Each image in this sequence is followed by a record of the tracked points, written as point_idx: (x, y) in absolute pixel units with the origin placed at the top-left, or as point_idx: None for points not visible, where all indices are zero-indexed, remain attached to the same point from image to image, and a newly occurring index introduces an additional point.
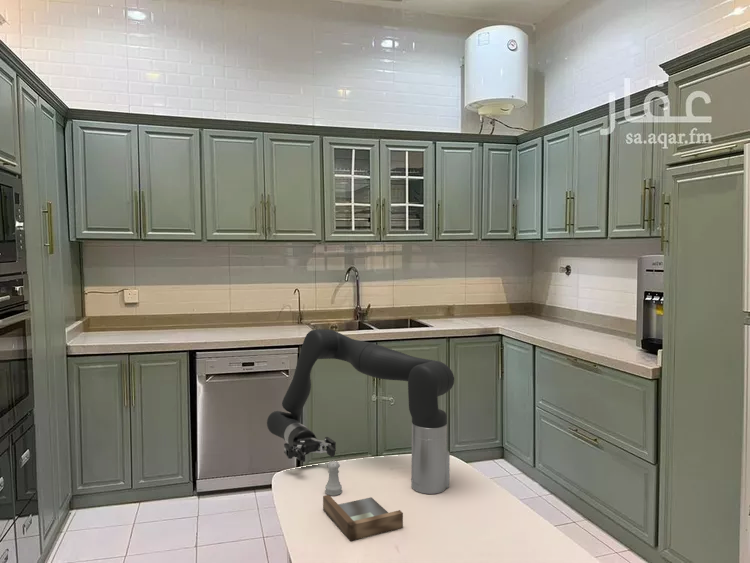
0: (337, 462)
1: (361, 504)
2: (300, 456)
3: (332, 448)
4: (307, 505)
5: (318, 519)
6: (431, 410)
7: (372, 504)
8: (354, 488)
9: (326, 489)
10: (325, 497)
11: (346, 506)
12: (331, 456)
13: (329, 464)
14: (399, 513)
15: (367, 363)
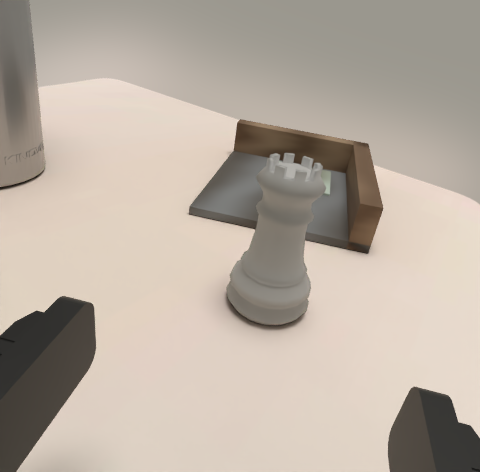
0: (278, 154)
1: (249, 204)
2: (464, 431)
3: (51, 311)
4: (413, 296)
5: (399, 237)
6: None
7: (223, 191)
8: (163, 275)
9: (310, 286)
10: (379, 201)
11: None
12: (91, 360)
13: (321, 171)
14: (247, 121)
15: None
